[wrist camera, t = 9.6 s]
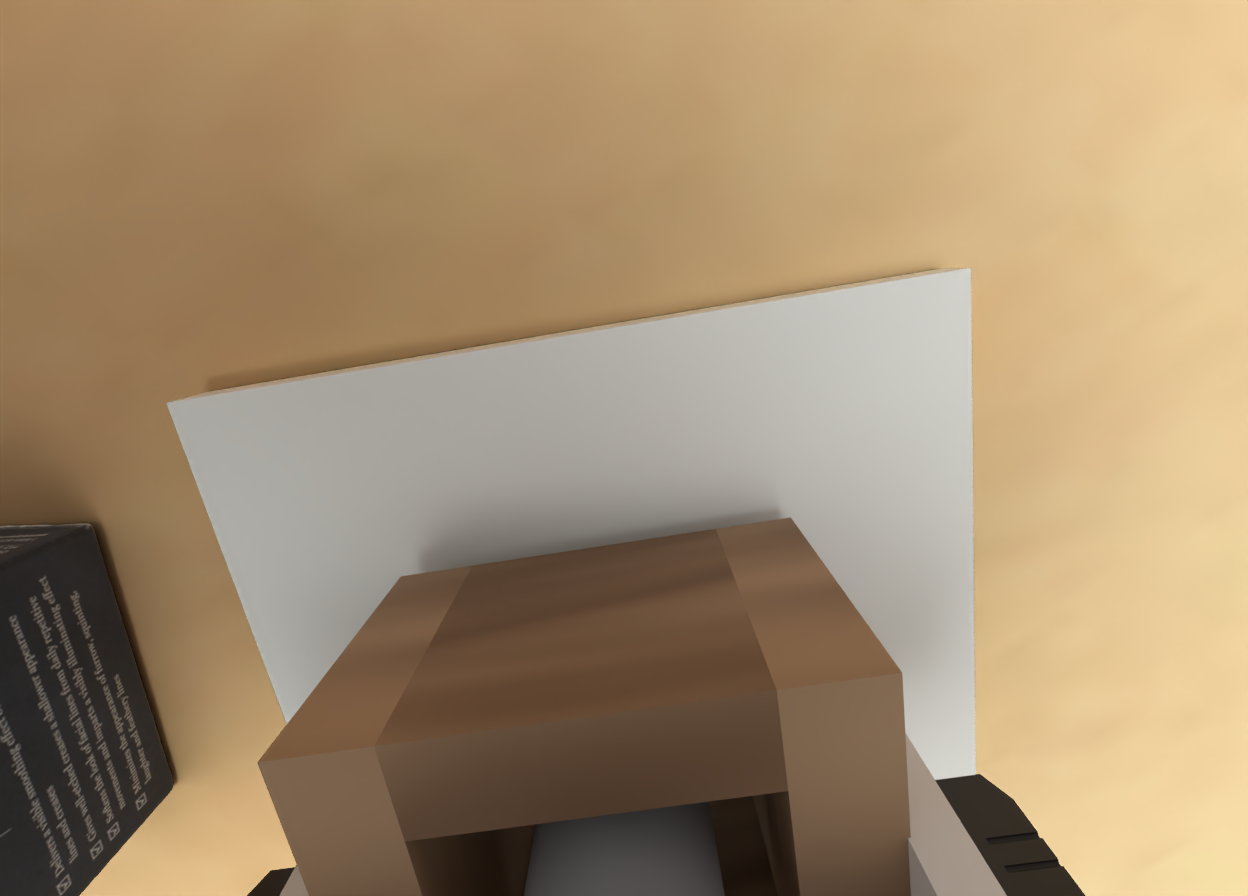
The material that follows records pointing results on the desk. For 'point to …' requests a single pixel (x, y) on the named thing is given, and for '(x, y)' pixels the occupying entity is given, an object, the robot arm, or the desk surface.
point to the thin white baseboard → (622, 496)
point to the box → (68, 716)
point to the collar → (604, 721)
